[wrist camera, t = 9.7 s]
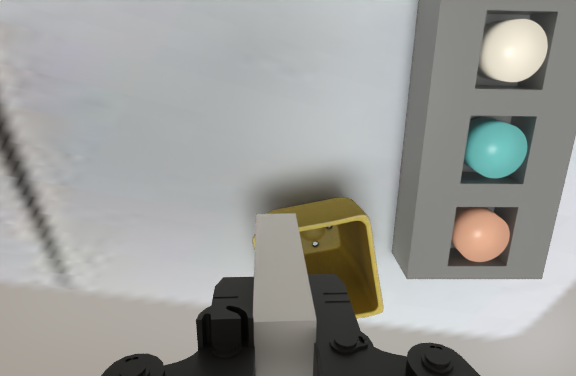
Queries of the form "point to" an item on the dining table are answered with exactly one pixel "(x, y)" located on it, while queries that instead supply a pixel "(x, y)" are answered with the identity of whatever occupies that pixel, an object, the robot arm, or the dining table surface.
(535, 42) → the cream button
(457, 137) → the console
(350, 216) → the flower pot
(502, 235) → the terracotta button
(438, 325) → the dining table surface
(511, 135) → the teal button
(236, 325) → the robot arm
